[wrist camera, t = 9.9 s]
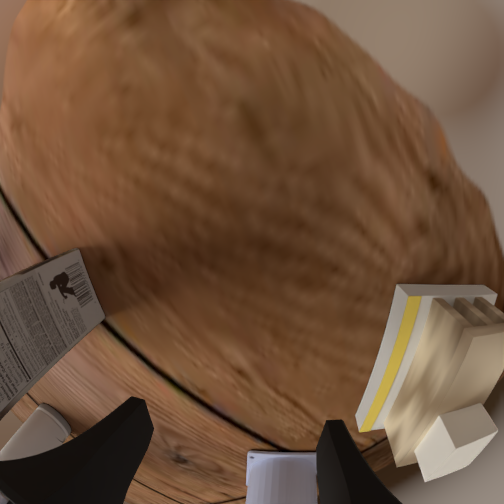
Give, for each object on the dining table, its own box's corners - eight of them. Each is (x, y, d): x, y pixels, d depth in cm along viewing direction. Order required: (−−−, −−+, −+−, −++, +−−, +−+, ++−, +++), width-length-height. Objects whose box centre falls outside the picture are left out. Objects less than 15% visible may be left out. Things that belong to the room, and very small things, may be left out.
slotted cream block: (429, 414, 17) (447, 453, 12) (383, 423, 18) (396, 467, 13) (481, 296, 14) (522, 328, 9) (432, 297, 14) (473, 337, 10)
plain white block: (455, 438, 12) (467, 465, 9) (414, 450, 12) (424, 481, 9) (480, 402, 11) (498, 430, 8) (439, 414, 11) (455, 448, 8)
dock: (434, 404, 19) (441, 417, 17) (355, 415, 20) (359, 432, 18) (483, 284, 16) (498, 294, 14) (396, 283, 16) (408, 296, 14)
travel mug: (79, 433, 27) (22, 521, 7) (60, 430, 28) (6, 506, 9) (52, 402, 25) (-17, 489, 6) (35, 402, 27) (-27, 476, 7)
